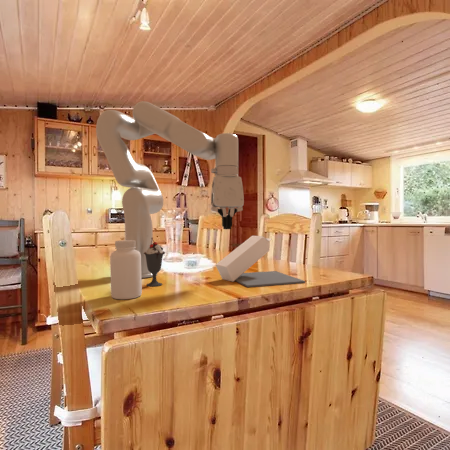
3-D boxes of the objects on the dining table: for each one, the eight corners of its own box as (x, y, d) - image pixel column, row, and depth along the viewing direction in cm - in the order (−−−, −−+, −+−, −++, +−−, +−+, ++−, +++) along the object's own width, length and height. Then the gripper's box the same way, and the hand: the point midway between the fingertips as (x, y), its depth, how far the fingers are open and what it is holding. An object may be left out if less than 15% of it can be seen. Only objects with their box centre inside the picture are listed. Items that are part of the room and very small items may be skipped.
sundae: (146, 288, 100) (146, 238, 99) (141, 284, 106) (140, 236, 105) (168, 285, 103) (167, 237, 102) (161, 282, 109) (161, 236, 108)
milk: (225, 267, 107) (269, 231, 118) (214, 264, 112) (257, 230, 123) (233, 282, 109) (275, 245, 120) (222, 279, 114) (263, 244, 125)
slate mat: (247, 287, 101) (247, 285, 101) (225, 275, 120) (225, 274, 120) (305, 282, 107) (305, 281, 107) (275, 272, 126) (275, 270, 126)
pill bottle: (114, 293, 94) (114, 239, 93) (143, 292, 94) (143, 239, 94) (107, 300, 86) (106, 242, 85) (139, 299, 87) (138, 241, 86)
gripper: (208, 170, 103) (208, 230, 104) (252, 172, 108) (252, 229, 108) (201, 173, 110) (202, 229, 111) (243, 174, 115) (243, 228, 116)
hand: (227, 229), depth 110 cm, fingers closed
